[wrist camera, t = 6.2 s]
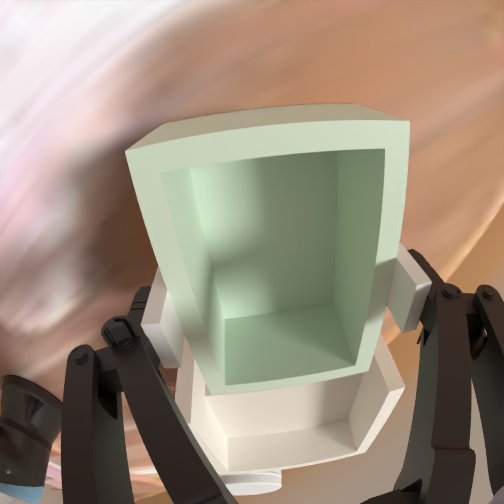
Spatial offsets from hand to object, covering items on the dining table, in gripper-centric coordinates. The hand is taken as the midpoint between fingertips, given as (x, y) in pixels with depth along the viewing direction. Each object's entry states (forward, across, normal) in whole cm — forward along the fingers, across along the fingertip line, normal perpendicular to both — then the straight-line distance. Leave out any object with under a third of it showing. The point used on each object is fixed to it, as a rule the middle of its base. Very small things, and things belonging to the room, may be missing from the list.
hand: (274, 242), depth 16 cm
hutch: (+8, 0, -16) cm, 18 cm away
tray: (+1, 0, 0) cm, 1 cm away
